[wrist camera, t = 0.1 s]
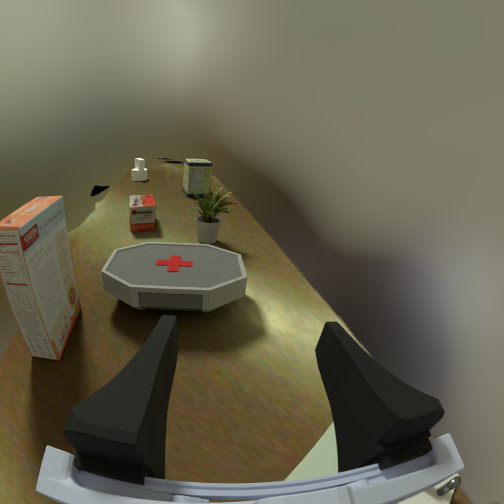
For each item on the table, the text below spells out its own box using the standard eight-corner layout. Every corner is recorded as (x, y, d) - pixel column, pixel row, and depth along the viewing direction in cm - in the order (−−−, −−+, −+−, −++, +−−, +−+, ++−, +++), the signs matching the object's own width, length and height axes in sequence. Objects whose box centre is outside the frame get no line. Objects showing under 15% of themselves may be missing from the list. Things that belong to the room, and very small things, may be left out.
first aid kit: (101, 321, 42) (246, 328, 47) (93, 284, 39) (250, 290, 44) (123, 272, 58) (235, 277, 63) (120, 240, 55) (238, 245, 60)
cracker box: (55, 306, 43) (35, 195, 34) (82, 308, 44) (65, 194, 36) (29, 357, 30) (-13, 226, 22) (60, 362, 32) (21, 225, 23)
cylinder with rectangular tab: (149, 180, 150) (149, 159, 146) (134, 181, 145) (134, 160, 140) (143, 177, 156) (144, 157, 151) (129, 179, 151) (130, 158, 146)
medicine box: (130, 217, 91) (130, 194, 88) (153, 216, 94) (153, 193, 91) (130, 232, 79) (129, 206, 75) (156, 231, 82) (156, 205, 79)
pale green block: (291, 538, 16) (302, 534, 14) (252, 514, 19) (257, 507, 17) (358, 452, 26) (371, 437, 24) (325, 434, 29) (335, 418, 27)
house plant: (191, 256, 69) (194, 190, 63) (171, 236, 79) (172, 179, 72) (239, 247, 77) (245, 187, 71) (214, 230, 87) (218, 177, 81)
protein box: (203, 189, 138) (205, 158, 132) (209, 197, 125) (212, 163, 119) (182, 189, 134) (184, 158, 128) (186, 197, 121) (189, 162, 115)
